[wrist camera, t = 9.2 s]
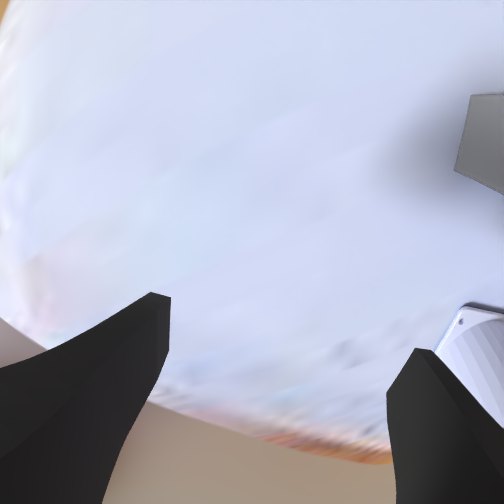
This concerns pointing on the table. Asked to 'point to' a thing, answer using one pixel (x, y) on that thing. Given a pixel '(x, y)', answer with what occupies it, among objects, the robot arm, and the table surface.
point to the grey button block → (483, 142)
